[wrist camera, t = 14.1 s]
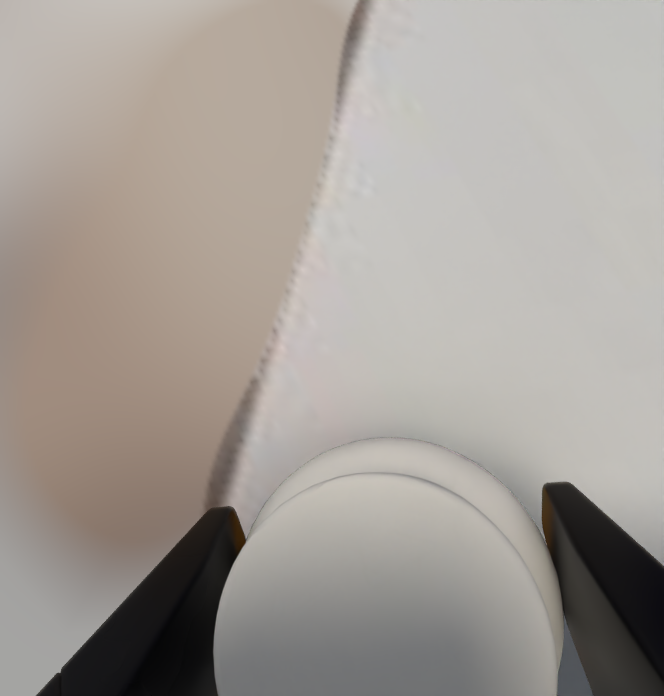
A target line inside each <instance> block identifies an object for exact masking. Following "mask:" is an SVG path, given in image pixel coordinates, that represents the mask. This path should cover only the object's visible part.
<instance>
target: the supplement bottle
mask: <svg viewBox="0 0 664 696" xmlns="http://www.w3.org/2000/svg"><path fill="white" fill-rule="evenodd" d="M563 640H564V614H563V604H562V597H561V591H560V586H559V580H558V576H557V572H556V569H555V567H554V564H553V561H552V558H551V555H550V552H549V549H548V547H547V545H546V543H545V541H544V539H543V537H542V535H541V533H540V531H539V529H538V527H537V526H536V524H535V523H534V521H533V520H532V518H531V517H530V515H529V514H528V512H527V511H526V510H525V508H524V507H523V506H522V504H521V503H520V502H519V500H518V499H517V498H516V497H515V496H514V495H513V494H512V493H511V492H510V490H509V489H508V488H507V487H506V486H505V485H503V484H502V483H501V482H500V481H499V480H498V479H497V478H495V477H494V476H493V475H492V474H491V473H489V472H488V471H487V470H485V469H484V468H482V467H481V466H479V465H478V464H476V463H475V462H473V461H471V460H469V459H468V458H466V457H464V456H462V455H460V454H458V453H456V452H454V451H452V450H450V449H447V448H445V447H442V446H440V445H436V444H432V443H429V442H425V441H420V440H414V439H406V438H372V439H364V440H359V441H355V442H351V443H348V444H344V445H341V446H339V447H336V448H333V449H331V450H329V451H327V452H325V453H322V454H320V455H319V456H317V457H315V458H313V459H312V460H310V461H308V462H307V463H306V464H304V465H303V466H302V467H300V468H299V469H297V470H296V471H295V472H294V473H292V474H291V475H290V476H289V477H288V478H287V479H286V480H285V481H284V482H283V483H282V484H281V485H280V486H279V487H278V488H277V489H276V491H275V492H274V493H273V494H272V495H271V497H270V498H269V499H268V500H267V502H266V503H265V505H264V506H263V508H262V510H261V511H260V513H259V515H258V517H257V519H256V520H255V522H254V524H253V526H252V528H251V530H250V533H249V535H248V537H247V540H246V543H245V545H244V546H243V548H242V550H241V551H240V553H239V555H238V557H237V558H236V560H235V562H234V564H233V566H232V568H231V571H230V573H229V575H228V578H227V580H226V583H225V586H224V589H223V592H222V595H221V598H220V603H219V607H218V612H217V617H216V625H215V632H214V648H213V654H214V672H215V680H216V687H217V693H218V696H557V689H558V671H559V667H560V662H561V656H562V649H563Z"/></svg>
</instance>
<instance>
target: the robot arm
mask: <svg viewBox="0 0 664 696" xmlns="http://www.w3.org/2000/svg"><path fill="white" fill-rule="evenodd" d="M542 525H543V531H544V535H545V539H546V543H547V547H548V549H549V552H550V555H551V558H552V561H553V564H554V567H555V569H556V572H557V576H558V580H559V586H560V591H561V597H562V604H563V611H564V615H565V618H566V622H567V625H568V628H569V631H570V634H571V636H572V639H573V642H574V645H575V647H576V650H577V653H578V655H579V658H580V661H581V663H582V666H583V669H584V671H585V674H586V677H587V679H588V682H589V685H590V687H591V690H592V693H593V696H664V566H663V565H662V564H661V563H660V562H659V561H658V560H656V559H655V558H654V557H653V556H652V555H651V554H650V553H649V552H647V551H646V550H645V549H644V548H643V547H642V546H641V545H640V544H638V543H637V542H636V541H635V540H634V539H633V538H632V537H631V536H630V535H628V534H627V533H626V532H625V531H624V530H623V529H622V528H621V527H619V526H618V525H617V524H616V523H615V522H614V521H613V520H612V519H611V518H609V517H608V516H607V515H606V514H605V513H604V512H603V511H602V510H600V509H599V508H598V507H597V506H596V505H595V504H594V503H593V502H592V501H590V500H589V499H588V498H587V497H586V496H585V495H584V494H583V493H581V492H580V491H579V490H578V489H577V488H576V487H575V486H574V485H572V484H571V483H569V482H553V483H546V484H544V486H543V489H542ZM245 543H246V539H245V535H244V532H243V530H242V527H241V524H240V521H239V519H238V516H237V513H236V511H235V509H234V508H233V507H230V506H226V507H214V508H211V509H209V510H208V511H207V512H206V513H205V514H204V515H203V516H202V517H201V519H200V520H199V521H198V522H197V523H196V524H195V525H194V526H193V527H192V528H191V529H190V530H189V532H188V533H187V534H186V535H185V536H184V537H183V538H182V539H181V540H180V541H179V543H177V544H176V546H175V547H174V548H173V549H172V550H171V551H170V552H169V553H168V554H167V555H166V556H165V557H164V558H163V560H162V561H161V562H160V563H159V564H158V565H157V566H156V567H155V568H154V569H153V570H152V571H151V573H150V574H149V575H148V576H147V577H146V578H145V579H144V580H143V581H142V582H141V583H140V584H139V586H137V588H136V589H135V590H134V591H133V592H132V593H131V594H130V595H129V596H128V597H127V598H126V600H125V601H124V602H123V603H122V604H121V605H120V606H119V607H118V608H117V609H116V610H115V611H114V612H113V613H112V615H111V616H110V617H109V618H108V619H107V620H106V621H105V622H104V623H103V624H102V625H101V627H100V628H99V629H98V630H97V631H96V632H95V633H94V634H93V635H92V636H91V637H90V638H89V639H88V640H87V641H86V643H85V644H84V645H83V646H82V647H81V648H80V649H79V650H78V651H77V652H76V653H75V654H74V655H73V657H72V658H71V659H70V660H69V661H68V662H67V663H66V664H65V665H64V666H63V667H62V669H61V673H57V674H56V675H55V676H54V677H53V678H52V679H51V680H50V681H49V682H48V683H47V684H46V686H45V687H44V688H43V689H42V690H41V691H40V692H39V693H38V694H37V695H36V696H218V693H217V687H216V680H215V672H214V654H213V648H214V632H215V625H216V617H217V612H218V607H219V603H220V598H221V595H222V592H223V589H224V586H225V583H226V580H227V578H228V575H229V573H230V571H231V568H232V566H233V564H234V562H235V560H236V558H237V557H238V555H239V553H240V551H241V550H242V548H243V546H244V545H245Z"/></svg>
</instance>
